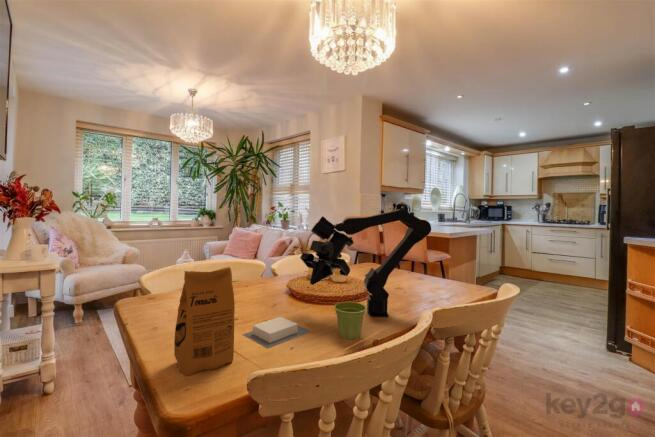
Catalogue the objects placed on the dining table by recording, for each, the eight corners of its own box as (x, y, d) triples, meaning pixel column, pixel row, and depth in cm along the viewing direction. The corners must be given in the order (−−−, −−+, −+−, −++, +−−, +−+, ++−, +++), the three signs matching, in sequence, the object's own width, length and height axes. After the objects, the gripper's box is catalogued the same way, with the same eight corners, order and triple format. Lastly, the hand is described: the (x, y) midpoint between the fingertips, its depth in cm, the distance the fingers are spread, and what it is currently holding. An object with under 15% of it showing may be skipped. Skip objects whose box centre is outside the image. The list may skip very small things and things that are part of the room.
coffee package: (171, 360, 71) (173, 267, 70) (225, 347, 78) (226, 263, 78) (178, 380, 63) (180, 276, 62) (237, 364, 70) (239, 270, 69)
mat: (285, 321, 98) (285, 320, 98) (311, 332, 90) (311, 331, 90) (242, 335, 86) (242, 334, 86) (267, 349, 78) (267, 348, 78)
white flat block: (280, 316, 93) (252, 325, 86) (297, 323, 88) (270, 333, 81) (280, 325, 93) (252, 334, 86) (297, 332, 88) (269, 343, 81)
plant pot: (356, 346, 82) (357, 314, 81) (327, 337, 87) (328, 307, 86) (370, 334, 89) (371, 305, 89) (343, 327, 94) (343, 299, 94)
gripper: (304, 229, 107) (279, 264, 99) (346, 234, 95) (321, 273, 87) (319, 250, 113) (296, 284, 105) (359, 256, 101) (337, 295, 93)
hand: (311, 283), depth 97 cm, fingers closed
